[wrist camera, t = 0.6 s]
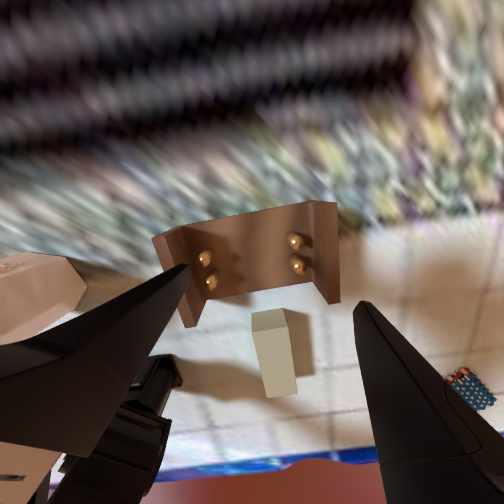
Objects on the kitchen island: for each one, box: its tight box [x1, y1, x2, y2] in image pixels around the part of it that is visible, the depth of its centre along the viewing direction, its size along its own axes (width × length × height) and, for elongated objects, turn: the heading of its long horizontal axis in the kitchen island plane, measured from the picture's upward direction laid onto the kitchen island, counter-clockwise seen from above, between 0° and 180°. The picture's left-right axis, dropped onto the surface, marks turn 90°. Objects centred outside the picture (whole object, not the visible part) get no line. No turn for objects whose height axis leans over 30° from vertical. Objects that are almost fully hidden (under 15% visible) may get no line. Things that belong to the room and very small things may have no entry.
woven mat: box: [446, 368, 497, 412], centre depth 31 cm, size 10×11×2 cm
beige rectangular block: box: [251, 308, 298, 398], centre depth 26 cm, size 12×4×4 cm, turn 10°
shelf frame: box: [151, 200, 341, 328], centre depth 20 cm, size 16×10×6 cm, turn 101°
